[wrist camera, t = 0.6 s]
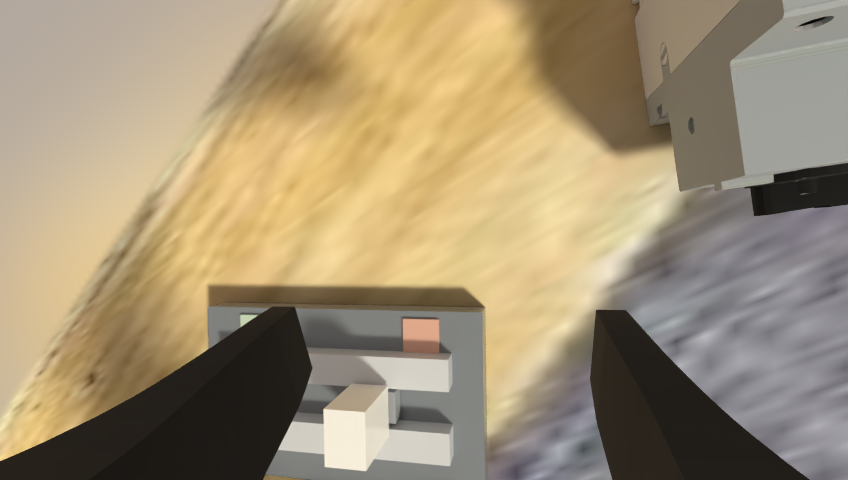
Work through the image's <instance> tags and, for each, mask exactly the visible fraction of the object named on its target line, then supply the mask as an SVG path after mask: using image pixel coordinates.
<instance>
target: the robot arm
mask: <svg viewBox="0 0 848 480" xmlns="http://www.w3.org/2000/svg"><path fill="white" fill-rule="evenodd" d="M312 369H313V368H312V364H311V361H310V357H309V354H308V350H307V347H306V343H305V340H304V336H303V333H302V329H301V326H300V322H299V319H298V315H297V312H296V309H295V307H282V306H273V307H271V308H269V309H268V310H266V311H264V312H263V313H261V314H259V315H258V316H256V317H255V318H253V319H252V320H250V321H249V322H247V323H246V324H244V325H243V326H242V327H240V328H239V329H237V330H236V331H234V332H233V333H231V334H230V335H229V336H227V337H226V338H224V339H223V340H221V341H220V342H218V343H217V344H215V345H214V346H213V347H211V348H210V349H208V350H207V351H205V352H204V353H202V354H201V355H199V356H198V357H196V358H195V359H193V360H192V361H190V362H189V363H187V364H185V365H184V366H182V367H181V368H179V369H178V370H176V371H175V372H173V373H171V374H170V375H168V376H167V377H165V378H164V379H162V380H160V381H159V382H157V383H156V384H154V385H152V386H151V387H149V388H147V389H146V390H144V391H142V392H141V393H139V394H137V395H135V396H134V397H132V398H130V399H128V400H127V401H125V402H123V403H121V404H119V405H117V406H116V407H114V408H112V409H110V410H108V411H107V412H105V413H103V414H101V415H99V416H97V417H95V418H93V419H91V420H89V421H87V422H85V423H83V424H81V425H79V426H77V427H74V428H72V429H70V430H68V431H66V432H64V433H62V434H60V435H58V436H56V437H54V438H52V439H50V440H48V441H46V442H44V443H41V444H39V445H37V446H35V447H32V448H30V449H28V450H25V451H23V452H21V453H19V454H16V455H14V456H12V457H9V458H7V459H5V460H2V461H0V480H263V478H264V476H265V474H266V472H267V470H268V468H269V466H270V464H271V462H272V460H273V458H274V456H275V454H276V452H277V451H278V449H279V447H280V445H281V443H282V441H283V439H284V437H285V435H286V433H287V431H288V429H289V427H290V425H291V423H292V421H293V419H294V417H295V415H296V412H297V410H298V408H299V406H300V404H301V401H302V398H303V396H304V393H305V390H306V387H307V384H308V381H309V378H310V375H311V372H312ZM590 381H591V388H592V394H593V401H594V408H595V414H596V420H597V425H598V428H599V432H600V436H601V439H602V443H603V447H604V451H605V454H606V458H607V461H608V465H609V469H610V472H611V476H612V479H613V480H809V479H808V478H807V477H805V476H804V475H803V474H801V473H800V472H799V471H797V470H796V469H794V468H793V467H792V466H790V465H789V464H788V463H786V462H785V461H784V460H783V459H781V458H780V457H779V456H778V455H776V454H775V453H774V452H773V451H771V450H770V449H769V448H768V447H766V446H765V445H764V444H763V443H761V442H760V441H759V440H757V439H756V438H755V437H754V436H752V435H751V434H750V433H749V432H748V431H746V430H745V429H744V428H743V427H742V426H740V425H739V424H738V423H737V422H736V421H735V420H733V419H732V418H731V417H730V416H729V415H728V414H727V413H726V412H725V411H723V410H722V409H721V408H720V407H719V406H718V405H717V404H716V403H715V402H714V401H712V400H711V399H710V398H709V397H708V396H707V395H706V394H705V393H704V392H703V391H702V390H701V389H700V388H699V387H698V386H697V385H696V384H695V383H694V382H693V381H692V380H691V379H690V378H689V377H688V376H687V375H686V374H685V373H684V372H683V371H682V370H681V369H680V368H679V367H678V366H677V365H676V364H675V363H674V362H673V361H672V360H671V359H670V358H669V357H668V356H667V355H666V354H665V353H664V352H663V351H662V350H661V348H660V347H659V346H658V345H657V344H656V343H655V342H654V341H653V340H652V339H651V338H650V336H649V335H648V334H647V333H646V332H645V331H644V330H643V329H642V328H641V326H640V325H639V324H638V323H637V322H636V321H635V320H634V319H633V317H632V316H631V315H630V314H629V313H628V312H627V311H626V310H596V317H595V329H594V341H593V352H592V364H591V376H590Z"/></svg>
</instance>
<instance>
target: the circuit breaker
mask: <svg viewBox="0 0 848 480" xmlns="http://www.w3.org/2000/svg"><path fill="white" fill-rule="evenodd" d="M637 3H639V7H640V9H639V11H638V13H637V15H636V17H635V18H634V20H635V27H636V34H637V41H638V48H639V55H640V62H641V69H642V77H643V84H644V91H645V98H646V105H647V112H648V119H649V125H650V126H654V125H660V124H665V123H670V128H671V135H672V142H673V149H674V156H675V163H676V170H677V177H678V184H679V190H680V192H681V191H688V190H695V189H702V188H708V187H715V191H718V190H726V189H733V188H740V187H745V188H750V189H751V197H752V204H753V211H754V216H761V215H770V214H776V213H782V212H787V211H793V210H800V209H806V208H813V207H814V208H820V207H832V206H840V205H848V0H632V4H637Z"/></svg>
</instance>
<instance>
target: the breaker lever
mask: <svg viewBox="0 0 848 480" xmlns="http://www.w3.org/2000/svg"><path fill="white" fill-rule="evenodd" d="M323 414H324V459H325V467H330V468H340V469H350V470H359V471H367V469H368V468H369V466H370V465H371V463H372V461H373V460H374V458H375V457H376V455H377V454H378V452H379V451H380V449H381V448H382V446H383V445H384V443H385V441H386V440H387V438H388V437H389V423H392V424H396V422H397V421H398V419H399V418H400V416H401V414H400V389H388V386H385V385H368V384H351V385H350V386H349V387H347V388H346V389H345V390H344V391H343V392H342V393H341V394H340V395H339V396H337V397H336V398H335V399H334V400H333V401H332V402H331V403H330V404H329V405H327V406H326V407H325V408H324V409H323Z"/></svg>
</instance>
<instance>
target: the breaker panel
mask: <svg viewBox="0 0 848 480" xmlns="http://www.w3.org/2000/svg"><path fill="white" fill-rule="evenodd" d="M273 306H282V307H295V309H296V312H297V315H298V319H299V322H300V326H301V329H302V333H303V336H304V340H305V343H306V347H307V350H308V354H309V357H310V361H311V364H312V368H313V369H312V372H311V375H310V378H309V381H308V384H307V387H306V390H305V393H304V396H303V398H302V401H301V404H300V406H299V408H298V410H297V412H296V415H295V417H294V419H293V421H292V423H291V425H290V427H289V429H288V431H287V433H286V435H285V437H284V439H283V441H282V443H281V445H280V447H279V449H278V451H277V452H276V454H275V456H274V458H273V460H272V462H271V464H270V466H269V468H268V470H267V472H266V474H265V475H272V476H281V477H290V478H299V479H308V480H488V473H487V407H486V341H485V307H448V306H395V305H342V304H289V303H236V302H225V303H220V304H216V305H212V306H208V335H209V349H210V348H211V347H213V346H214V345H215V344H217V343H218V342H220V341H221V340H223V339H224V338H226V337H227V336H229V335H230V334H231V333H233V332H234V331H236V330H237V329H239V328H240V327H242V326H243V325H244V324H246V323H247V322H249V321H250V320H252V319H253V318H255V317H256V316H258V315H259V314H261V313H263V312H264V311H266V310H268V309H269V308H271V307H273ZM351 384H368V385H385V386H388V389H400V414H401V416H400V418H399V419H398V421H397V422H396V424H392V423H389V437H388V438H387V440H386V441H385V443H384V445H383V446H382V448H381V449H380V451H379V452H378V454H377V455H376V457H375V458H374V460H373V461H372V463H371V465H370V466H369V468H368V469H367V471H359V470H350V469H340V468H330V467H325V459H324V414H323V409H324V408H325V407H326V406H327V405H329V404H330V403H331V402H332V401H333V400H334V399H335V398H336V397H337V396H339V395H340V394H341V393H342V392H343V391H344V390H345V389H346V388H347V387H349V386H350V385H351Z"/></svg>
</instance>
